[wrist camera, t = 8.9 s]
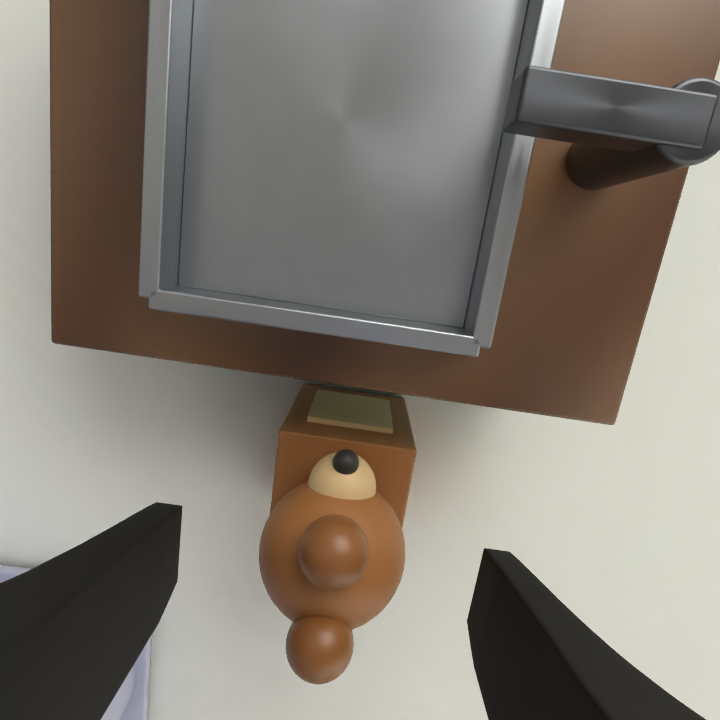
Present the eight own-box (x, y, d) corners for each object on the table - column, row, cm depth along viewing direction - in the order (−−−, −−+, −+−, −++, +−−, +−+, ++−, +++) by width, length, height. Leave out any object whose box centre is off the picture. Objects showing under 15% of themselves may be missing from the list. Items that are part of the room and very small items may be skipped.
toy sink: (163, 310, 16) (-79, 382, 7) (182, -82, 13) (-158, -678, 5) (529, 364, 16) (712, 497, 8) (619, -13, 14) (1053, -468, 5)
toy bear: (288, 501, 18) (218, 717, 9) (304, 370, 16) (240, 490, 8) (384, 514, 18) (396, 741, 9) (406, 385, 16) (442, 518, 8)
